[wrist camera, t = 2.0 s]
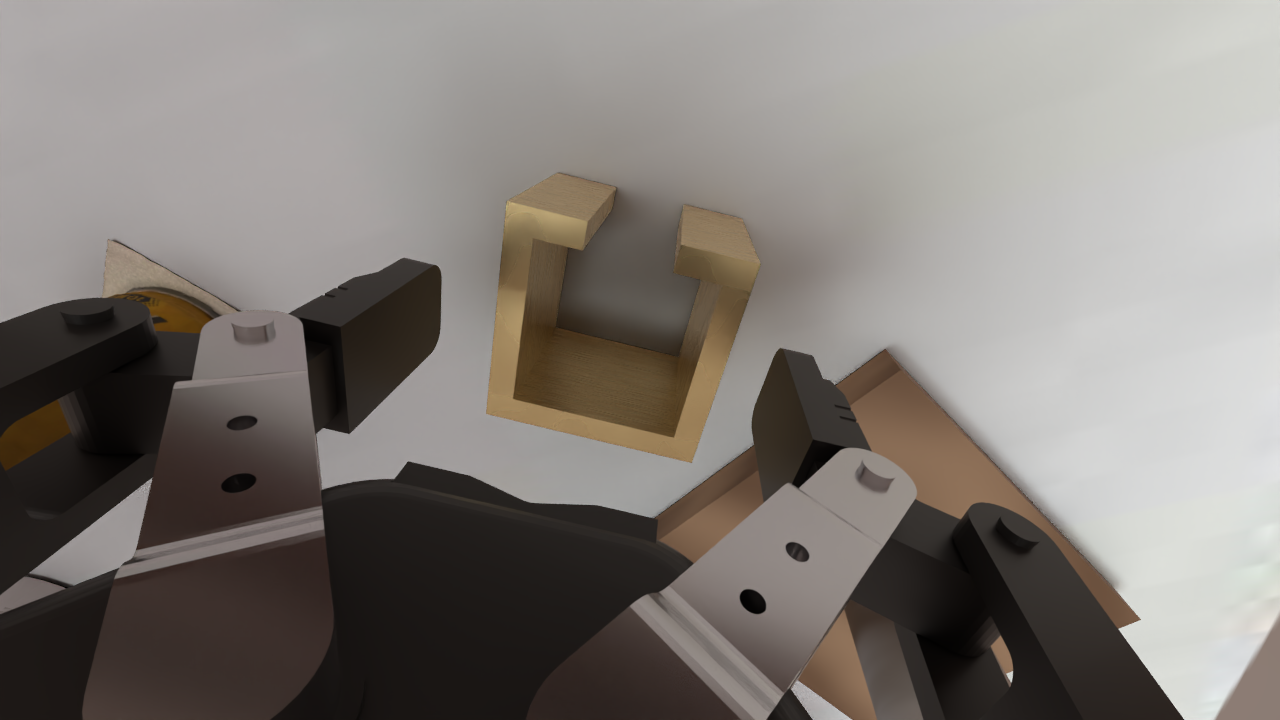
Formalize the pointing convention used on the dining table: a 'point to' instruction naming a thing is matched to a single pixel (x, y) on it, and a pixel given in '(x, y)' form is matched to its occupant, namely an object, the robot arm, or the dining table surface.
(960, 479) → the keyed stand
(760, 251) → the dining table surface
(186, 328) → the condiment
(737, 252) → the collar
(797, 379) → the robot arm
